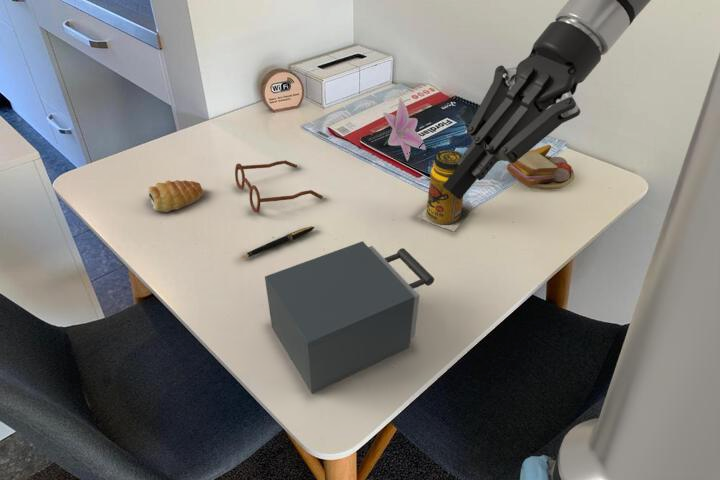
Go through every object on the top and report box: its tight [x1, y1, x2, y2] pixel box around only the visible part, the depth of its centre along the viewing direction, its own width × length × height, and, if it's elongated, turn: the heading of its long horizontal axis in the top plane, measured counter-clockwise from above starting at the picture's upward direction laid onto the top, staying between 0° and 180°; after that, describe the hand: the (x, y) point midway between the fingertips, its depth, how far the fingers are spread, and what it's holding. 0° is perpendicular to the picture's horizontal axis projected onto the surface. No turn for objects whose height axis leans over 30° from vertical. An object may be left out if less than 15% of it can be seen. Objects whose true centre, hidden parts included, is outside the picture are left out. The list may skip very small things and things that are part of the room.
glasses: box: [234, 160, 324, 213], centre depth 98 cm, size 13×13×5 cm
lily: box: [383, 97, 426, 162], centre depth 110 cm, size 12×12×10 cm
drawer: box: [368, 245, 435, 340], centre depth 70 cm, size 18×11×8 cm, turn 120°
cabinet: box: [264, 240, 415, 395], centre depth 68 cm, size 15×13×10 cm
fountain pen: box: [239, 225, 315, 259], centre depth 86 cm, size 14×1×2 cm, turn 126°
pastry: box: [147, 179, 204, 213], centre depth 95 cm, size 9×7×4 cm
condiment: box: [417, 149, 475, 232], centre depth 90 cm, size 7×8×12 cm
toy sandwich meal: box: [506, 144, 575, 191], centre depth 103 cm, size 12×14×5 cm
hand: (451, 192), depth 66 cm, fingers closed
